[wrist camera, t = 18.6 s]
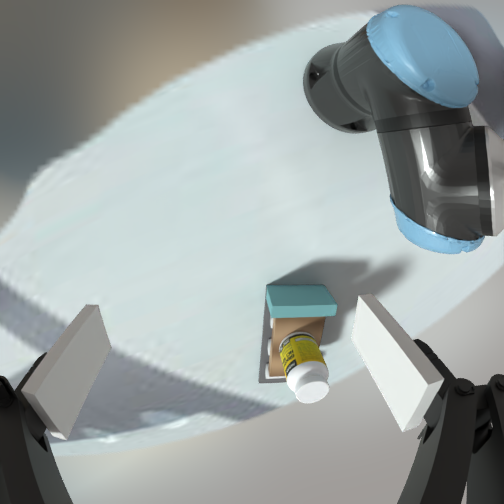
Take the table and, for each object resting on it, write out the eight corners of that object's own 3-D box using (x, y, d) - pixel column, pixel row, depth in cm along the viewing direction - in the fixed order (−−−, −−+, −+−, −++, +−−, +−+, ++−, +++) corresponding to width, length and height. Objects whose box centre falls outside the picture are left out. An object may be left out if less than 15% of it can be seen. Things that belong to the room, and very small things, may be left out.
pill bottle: (281, 330, 43) (295, 378, 32) (318, 329, 43) (340, 375, 33) (276, 359, 45) (287, 408, 34) (311, 358, 45) (328, 404, 35)
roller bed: (266, 285, 46) (272, 306, 40) (323, 284, 47) (337, 304, 41) (258, 380, 53) (262, 405, 47) (305, 378, 54) (313, 401, 48)
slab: (274, 309, 44) (276, 315, 42) (322, 308, 45) (326, 314, 43) (268, 369, 48) (269, 376, 46) (310, 367, 49) (312, 374, 47)
